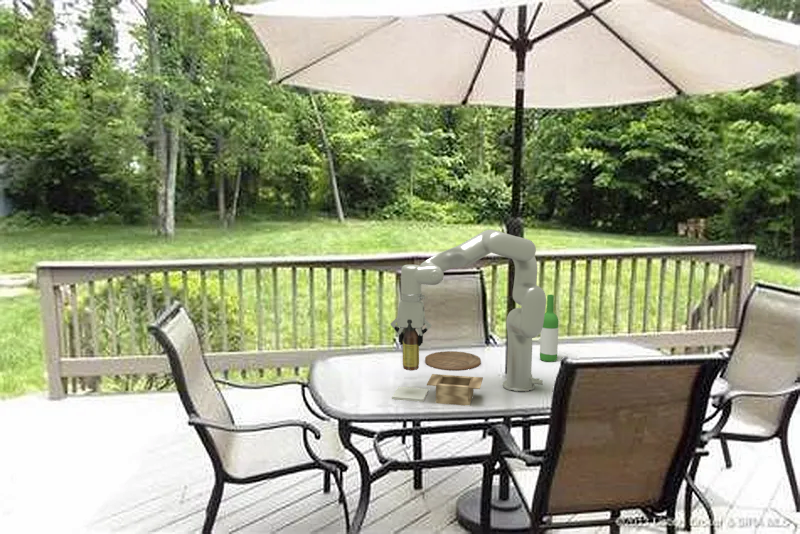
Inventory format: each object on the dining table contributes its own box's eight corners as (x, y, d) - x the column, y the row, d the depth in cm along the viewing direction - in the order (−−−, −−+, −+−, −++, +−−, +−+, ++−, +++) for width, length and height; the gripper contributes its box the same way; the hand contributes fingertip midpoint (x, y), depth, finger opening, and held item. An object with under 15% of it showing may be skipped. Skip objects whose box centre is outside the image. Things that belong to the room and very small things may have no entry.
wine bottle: (540, 356, 298) (542, 293, 293) (557, 358, 295) (560, 294, 291) (538, 361, 290) (540, 296, 286) (556, 363, 288) (558, 297, 284)
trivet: (437, 352, 305) (437, 348, 305) (488, 359, 295) (488, 355, 294) (415, 366, 283) (415, 362, 283) (469, 374, 272) (469, 370, 272)
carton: (482, 395, 246) (482, 377, 245) (479, 406, 234) (480, 388, 233) (432, 391, 250) (432, 373, 249) (426, 402, 238) (426, 384, 237)
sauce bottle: (409, 365, 248) (410, 315, 246) (422, 368, 245) (423, 317, 242) (398, 369, 243) (399, 317, 241) (411, 372, 240) (412, 320, 237)
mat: (428, 391, 250) (428, 388, 250) (423, 401, 239) (423, 399, 238) (398, 389, 253) (398, 386, 252) (391, 399, 241) (391, 396, 241)
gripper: (435, 297, 242) (434, 343, 244) (390, 295, 245) (390, 340, 248) (432, 300, 235) (431, 348, 237) (386, 298, 238) (386, 345, 241)
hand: (410, 344), depth 243 cm, fingers closed on sauce bottle, 6 cm apart
